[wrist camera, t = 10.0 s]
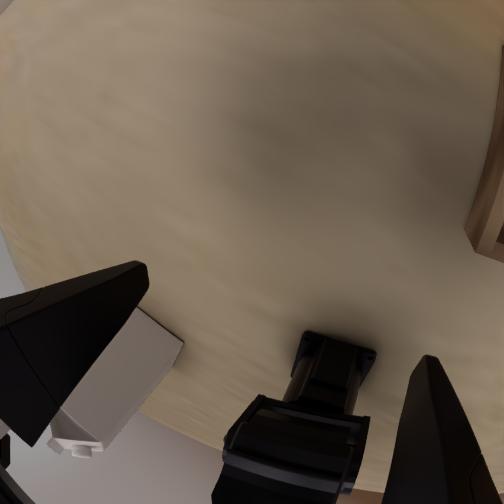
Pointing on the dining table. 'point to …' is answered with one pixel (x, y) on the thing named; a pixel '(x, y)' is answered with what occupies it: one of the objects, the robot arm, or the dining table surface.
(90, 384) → the milk carton
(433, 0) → the dining table surface
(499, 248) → the walled box
